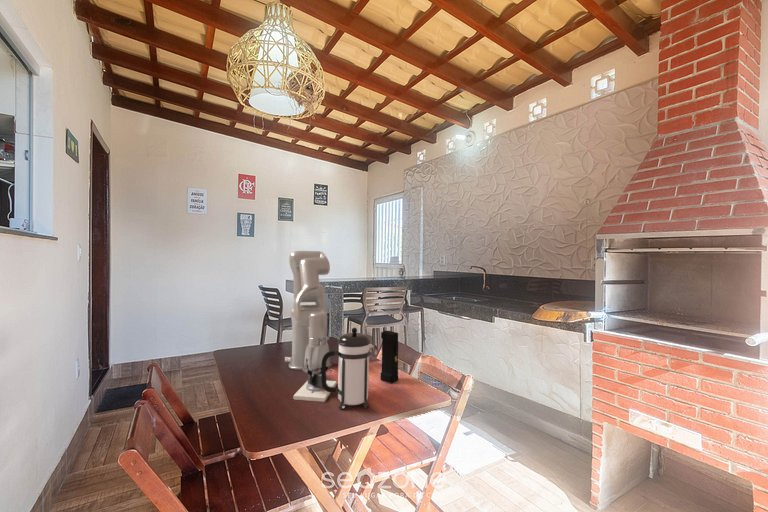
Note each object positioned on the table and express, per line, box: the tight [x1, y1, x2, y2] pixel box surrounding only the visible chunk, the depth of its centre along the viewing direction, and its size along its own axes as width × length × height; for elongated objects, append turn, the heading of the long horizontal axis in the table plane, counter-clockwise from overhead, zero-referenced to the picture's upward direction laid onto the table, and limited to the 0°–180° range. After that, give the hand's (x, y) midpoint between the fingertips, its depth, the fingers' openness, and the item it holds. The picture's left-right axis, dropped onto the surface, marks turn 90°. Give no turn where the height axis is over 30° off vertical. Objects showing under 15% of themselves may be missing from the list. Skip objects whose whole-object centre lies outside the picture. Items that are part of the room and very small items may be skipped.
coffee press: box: [321, 327, 374, 411], centre depth 134 cm, size 17×16×30 cm
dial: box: [306, 370, 327, 391], centre depth 146 cm, size 9×9×6 cm
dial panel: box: [292, 380, 337, 403], centre depth 145 cm, size 13×18×2 cm
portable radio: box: [380, 325, 399, 384], centre depth 159 cm, size 8×6×25 cm
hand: (317, 383), depth 146 cm, fingers closed on dial, 3 cm apart
